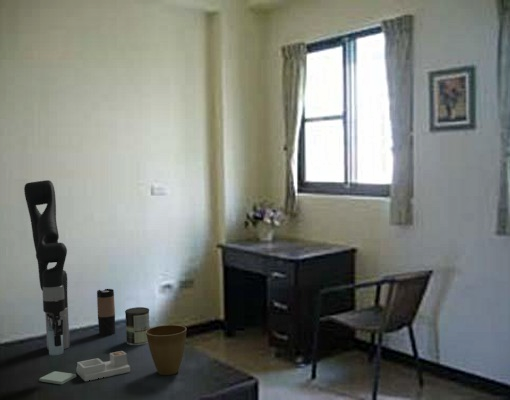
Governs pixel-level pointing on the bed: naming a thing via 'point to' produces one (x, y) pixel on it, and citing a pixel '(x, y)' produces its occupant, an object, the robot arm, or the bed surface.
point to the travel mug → (106, 312)
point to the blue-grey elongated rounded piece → (52, 348)
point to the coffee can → (137, 325)
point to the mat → (57, 377)
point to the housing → (103, 367)
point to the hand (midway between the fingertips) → (55, 343)
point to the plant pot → (167, 347)
